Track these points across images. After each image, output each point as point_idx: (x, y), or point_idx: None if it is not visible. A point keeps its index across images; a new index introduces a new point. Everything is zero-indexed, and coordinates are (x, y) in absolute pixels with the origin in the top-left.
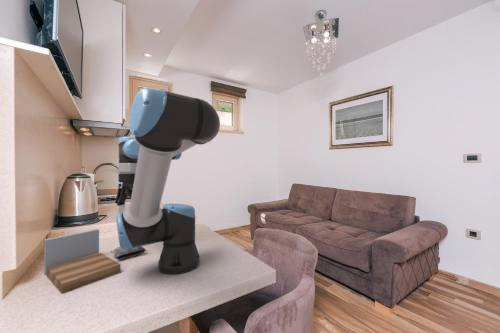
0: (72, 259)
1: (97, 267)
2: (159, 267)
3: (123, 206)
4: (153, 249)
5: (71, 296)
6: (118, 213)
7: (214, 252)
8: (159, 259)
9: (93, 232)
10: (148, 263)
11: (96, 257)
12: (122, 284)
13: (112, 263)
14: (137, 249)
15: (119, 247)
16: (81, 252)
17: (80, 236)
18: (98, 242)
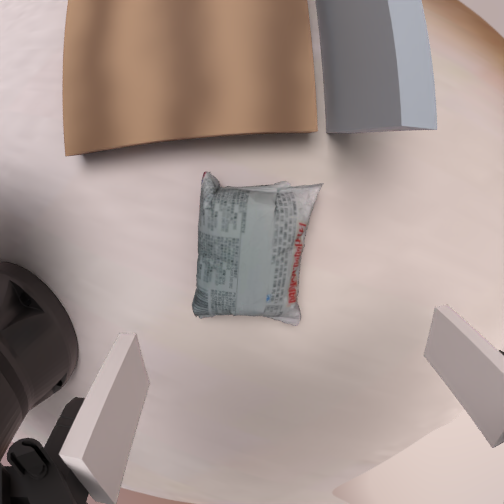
0: (329, 20)
1: (106, 70)
2: (1, 266)
3: (492, 428)
4: (236, 351)
5: (48, 11)
6: (472, 344)
7: None
8: (3, 284)
9: (392, 85)
10: (89, 268)
11: (251, 92)
12: (2, 139)
13: (98, 130)
14: (197, 284)
15: (259, 215)
16: (339, 46)
17: (377, 8)
18: (359, 126)
